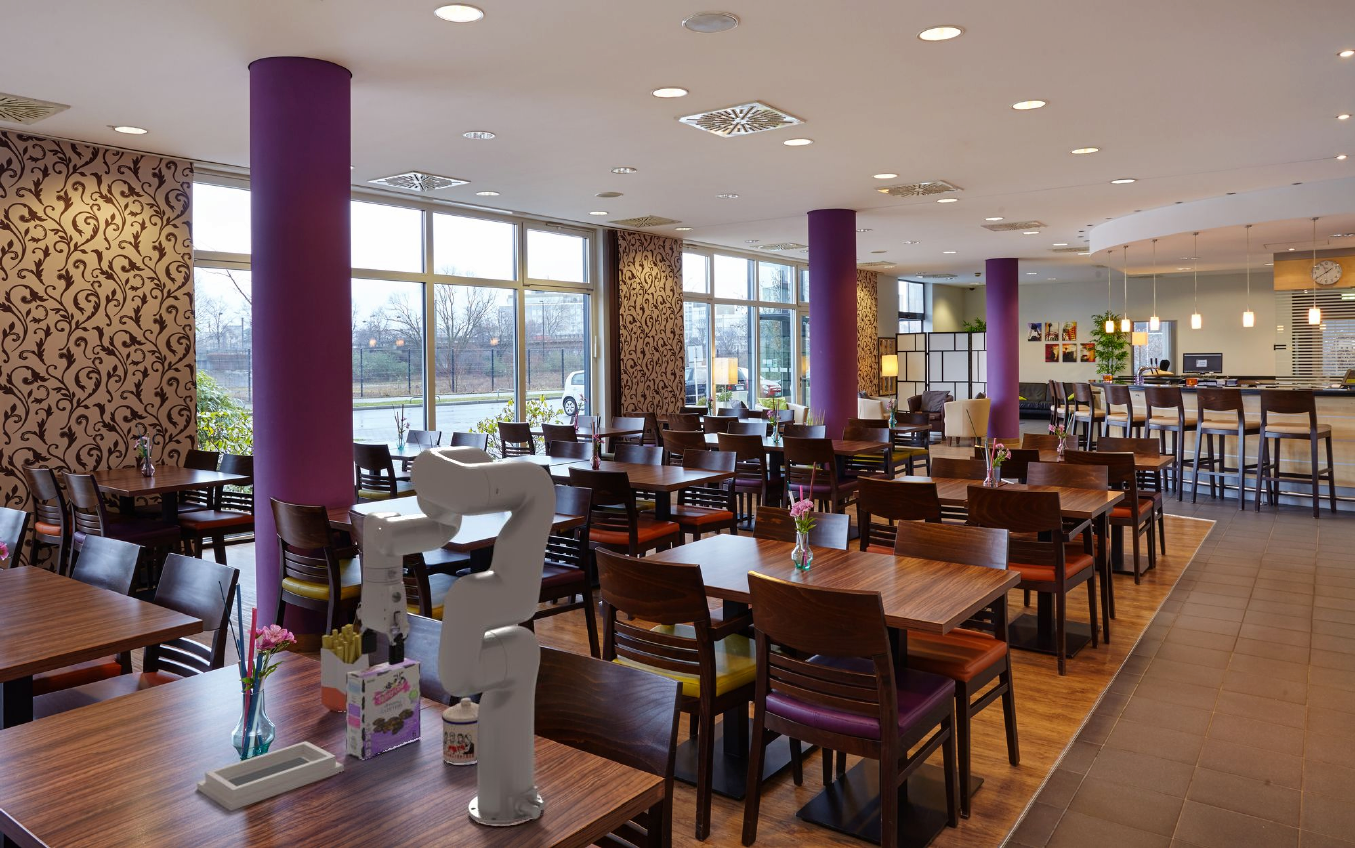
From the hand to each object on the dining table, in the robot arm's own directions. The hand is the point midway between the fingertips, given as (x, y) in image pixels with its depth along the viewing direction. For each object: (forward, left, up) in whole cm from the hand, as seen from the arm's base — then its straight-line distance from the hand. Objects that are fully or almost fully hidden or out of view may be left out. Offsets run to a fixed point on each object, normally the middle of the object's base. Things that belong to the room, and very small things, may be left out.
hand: (382, 658), depth 182 cm
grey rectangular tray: (+1, +22, -18) cm, 28 cm away
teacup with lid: (-19, -8, -18) cm, 27 cm away
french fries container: (+25, -7, -18) cm, 32 cm away
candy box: (-1, 0, -18) cm, 18 cm away
